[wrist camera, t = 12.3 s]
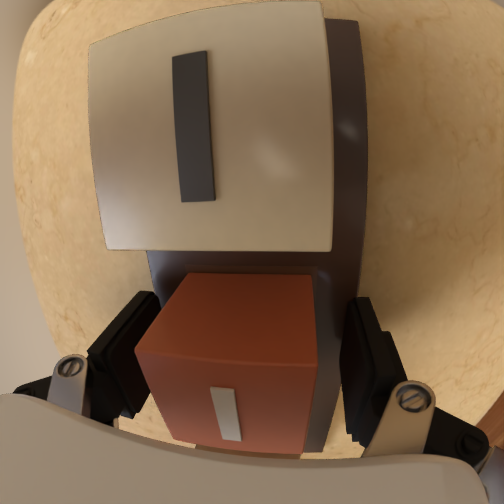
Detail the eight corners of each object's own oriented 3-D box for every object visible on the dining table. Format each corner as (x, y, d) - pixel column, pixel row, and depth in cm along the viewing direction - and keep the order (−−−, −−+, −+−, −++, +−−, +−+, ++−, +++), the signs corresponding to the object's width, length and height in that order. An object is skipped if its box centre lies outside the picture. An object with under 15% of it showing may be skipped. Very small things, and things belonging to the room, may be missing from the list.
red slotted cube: (188, 271, 11) (130, 351, 6) (311, 273, 10) (319, 368, 6) (204, 360, 12) (171, 442, 8) (305, 365, 12) (303, 457, 7)
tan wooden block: (171, 75, 8) (85, 43, 4) (309, 62, 7) (322, -3, 3) (180, 202, 10) (103, 252, 5) (314, 199, 9) (332, 255, 5)
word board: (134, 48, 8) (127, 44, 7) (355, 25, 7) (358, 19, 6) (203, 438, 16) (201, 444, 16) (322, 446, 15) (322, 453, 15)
